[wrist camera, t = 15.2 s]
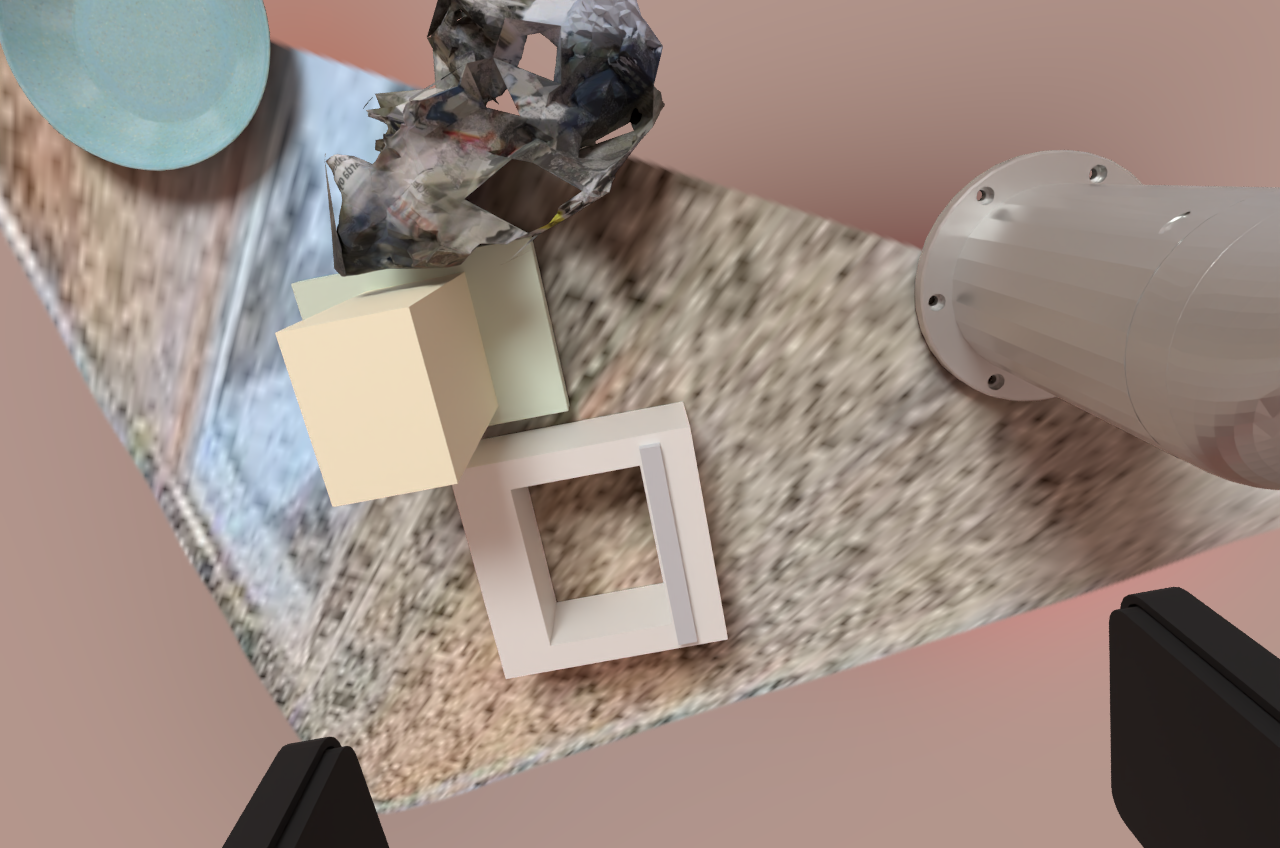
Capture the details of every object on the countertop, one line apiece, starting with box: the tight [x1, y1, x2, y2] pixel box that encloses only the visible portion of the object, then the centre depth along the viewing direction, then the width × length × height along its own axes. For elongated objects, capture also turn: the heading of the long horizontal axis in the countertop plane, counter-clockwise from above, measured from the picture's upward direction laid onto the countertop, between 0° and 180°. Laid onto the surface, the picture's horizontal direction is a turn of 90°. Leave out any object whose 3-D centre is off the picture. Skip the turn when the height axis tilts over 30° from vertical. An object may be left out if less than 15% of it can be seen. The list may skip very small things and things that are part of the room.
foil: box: [325, 0, 665, 277], centre depth 36 cm, size 12×11×15 cm
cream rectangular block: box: [275, 272, 498, 507], centre depth 35 cm, size 5×7×11 cm
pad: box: [291, 236, 570, 426], centre depth 41 cm, size 12×9×1 cm
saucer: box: [0, 0, 271, 171], centre depth 36 cm, size 12×12×2 cm
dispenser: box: [452, 402, 728, 679], centre depth 43 cm, size 12×12×5 cm
